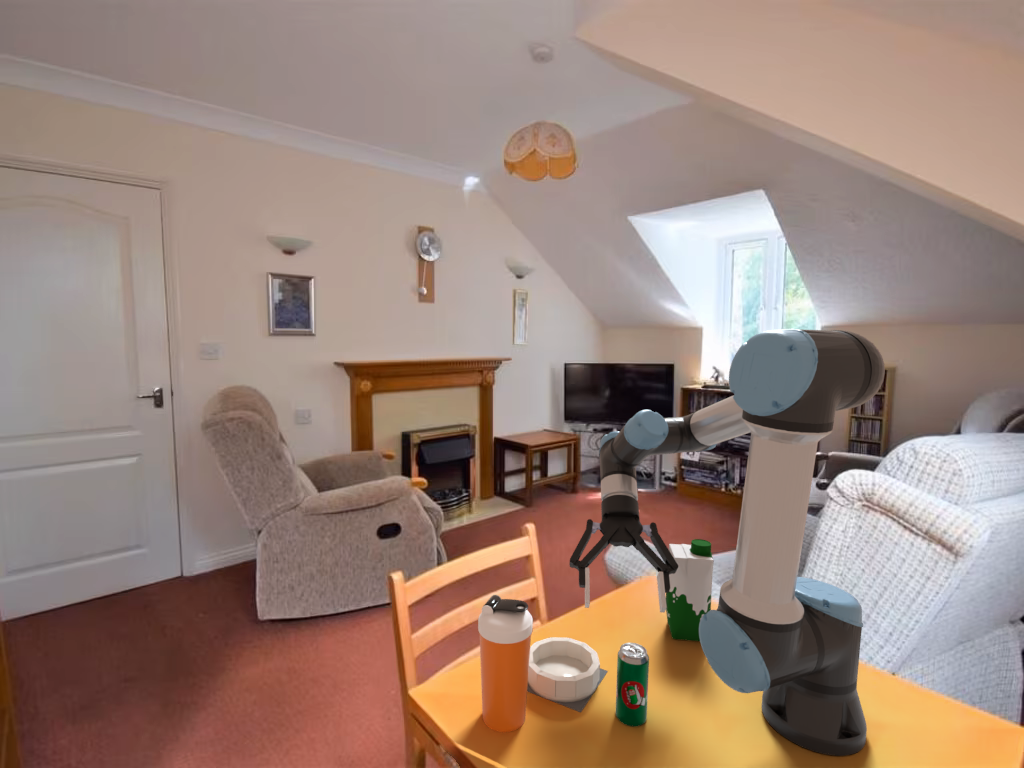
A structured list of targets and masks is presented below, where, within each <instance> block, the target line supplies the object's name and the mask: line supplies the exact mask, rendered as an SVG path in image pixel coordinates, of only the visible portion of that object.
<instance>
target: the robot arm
mask: <svg viewBox="0 0 1024 768" xmlns="http://www.w3.org/2000/svg"><path fill="white" fill-rule="evenodd" d="M885 374H886V370H885V362H884V358H883V355H882V353H881V352H880V350H879V349H878V348H877V346H876V345H875V344H874V343H873V342H871V340H869V339H867V338H866V337H865V336H863V335H860V334H859V333H856V332H853V331H849V330H839V329H838V330H837V329H831V330H828V329H827V330H825V329H824V330H822V329H803V328H801V329H796V328H793V327H792V328H780V329H771V330H765V331H760V332H758V333H756V334H754V335H752V336H751V337H750V338H749V339H748V340H746V341H745V342H743V343H742V345H741V346H740V347H739V348H738V349H737V351H736V352H735V354H734V356H733V358H732V361H731V363H730V367H729V372H728V387H729V390H730V392H731V393H733V394H734V395H731V396H729V397H727V398H724V399H722V400H720V401H717V402H714V403H712V404H710V405H709V406H706V407H705V406H704V407H703V408H701V409H699V410H697V411H694V412H692V413H690V414H688V415H684V416H678V417H676V416H675V417H674V416H673V417H664V416H663V415H661V414H660V413H659V412H657V411H655V412H654V411H652V410H651V409H642V410H639V411H638V412H636V413H635V414H634V415H633V416H632V417H631V418H629V419H628V420H627V422H626V423H625V425H624V426H623V427H622V429H620V431H618V430H617V431H610V432H609V433H608V434H603V436H602V437H601V439H600V441H599V451H598V455H599V456H598V457H599V470H600V472H599V473H600V500H601V504H600V505H601V507H600V508H601V509H600V510H601V521H600V522H595V521H593V520H592V519H591V518H589V519H587V520H586V527H585V530H584V532H583V534H582V535H581V537H580V540H579V541H578V543H577V544H576V547H575V549H574V550H573V553H572V555H571V556H570V558H569V565H568V566H569V567H570V568H571V569H576V570H577V572H578V587H579V588H582V589H584V608H587V609H590V604H591V596H590V595H591V594H590V593H591V591H590V589H591V587H590V585H591V583H590V577H591V576H590V567H589V566H590V565H591V564H593V562H594V561H595V560H596V559H597V557H599V555H600V554H601V553H602V552H603V551H604V550H605V549H606V548H607V547H608V546H609V545H612V546H613V547H625V548H630V547H633V548H634V549H635V550H637V551H639V553H640V554H641V555H642V556H643V557H644V558H645V559H646V560H647V562H648V563H649V564H650V565H651V566H652V567H653V568H654V569H655V570H656V572H658V573H657V576H656V581H657V582H656V583H657V584H656V585H657V593H658V594H657V595H658V602H659V603H658V604H659V613H665V612H666V608H667V606H666V593H668V592H669V590H670V580H669V574H675V573H676V571H677V569H678V564H677V563H676V561H675V559H674V558H673V556H672V554H671V553H670V551H669V547H668V546H667V545H666V543H665V542H664V539H663V538H662V537H661V535H660V534H659V531H658V525H657V524H656V522H654V521H652V522H651V523H650V524H644V525H643V524H642V523H641V520H640V519H641V518H640V508H639V501H638V500H639V495H638V494H639V493H638V483H637V482H638V481H637V467H638V466H639V465H641V464H642V463H643V462H644V461H645V460H646V459H647V458H648V457H650V456H659V455H671V454H679V453H681V454H683V453H693V452H695V453H700V452H701V453H702V452H705V451H710V450H713V449H714V448H716V446H718V444H720V443H723V442H726V441H729V440H733V439H735V438H738V437H741V436H744V435H746V434H750V441H749V447H748V455H747V456H748V457H747V462H746V470H745V471H746V472H745V480H744V486H743V494H742V500H741V501H742V502H741V509H740V518H739V524H738V525H739V526H738V533H737V542H736V548H735V549H736V550H735V556H734V564H733V571H732V578H731V579H729V580H726V581H725V582H723V584H722V585H721V586H720V590H719V597H718V604H717V609H711V610H710V611H709V612H707V613H706V614H704V615H703V616H702V618H701V620H700V623H699V638H700V641H699V642H700V645H701V649H702V651H703V654H704V656H705V658H706V660H707V662H708V664H709V666H710V668H711V669H712V671H713V672H714V674H716V676H717V677H718V679H720V680H721V682H723V684H725V685H726V686H727V687H729V688H730V689H732V690H734V691H736V692H738V693H741V694H751V693H756V692H762V694H761V695H762V696H761V697H762V698H761V711H762V715H763V716H764V718H765V720H766V722H768V724H769V725H770V726H771V727H772V728H773V729H774V730H775V731H776V732H778V734H780V735H781V736H782V737H784V738H785V739H787V740H789V741H790V742H791V743H793V744H795V745H797V746H800V747H802V748H805V749H807V750H810V751H812V752H815V753H818V754H823V755H830V756H839V757H840V756H842V757H843V756H850V755H854V754H856V753H859V752H860V751H861V750H863V748H864V747H865V745H866V741H867V733H868V732H867V731H868V730H867V721H866V718H865V714H864V710H863V707H862V704H861V700H860V696H859V693H858V690H857V689H858V686H857V685H858V675H859V665H860V664H859V663H860V652H861V651H860V650H861V642H862V641H861V640H862V629H863V627H864V623H863V607H862V605H861V603H860V602H859V600H858V599H857V598H856V597H855V596H853V595H852V594H851V593H850V592H848V591H846V590H844V589H843V588H840V587H837V586H836V585H833V584H831V583H828V582H825V581H821V580H817V579H813V578H810V577H809V578H808V577H804V576H803V577H802V576H798V575H799V568H800V563H801V562H800V561H801V558H802V557H801V555H802V550H803V549H802V548H803V542H804V535H805V530H806V522H807V518H808V517H807V516H808V511H809V503H810V495H811V490H812V489H811V488H812V484H813V483H812V482H813V477H814V470H815V463H816V457H817V450H818V444H819V442H820V441H821V440H822V439H824V438H825V437H827V436H829V435H831V434H832V433H833V430H834V422H835V415H836V412H838V411H843V410H848V409H854V408H857V407H859V406H862V405H863V404H866V403H867V402H868V401H870V400H871V399H873V398H874V396H876V395H877V393H878V392H879V390H880V389H881V387H882V385H883V383H884V379H885ZM598 530H599V531H600V533H601V534H602V537H601V538H600V540H598V542H597V543H596V544H595V545H594V546H593V547H592V548H591V549H590V550H589V551H588V553H586V555H585V556H584V557H582V555H583V553H584V551H585V549H586V547H587V545H588V543H589V542H590V540H591V538H592V535H593V534H596V532H597V531H598ZM643 533H645V535H646V536H647V537H649V538H650V540H651V542H652V545H653V546H654V547H655V550H656V552H657V553H658V554H659V555H660V556H658V555H657V554H656V552H655V551H654V550H653V549H652V548H651V547H650V546H649V545H648V544H647V543H646V542H645V540H644V538H643V537H642V536H641V534H643ZM581 557H582V559H581V560H580V558H581Z"/></svg>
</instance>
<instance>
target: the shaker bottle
mask: <svg viewBox="0 0 1024 768" xmlns="http://www.w3.org/2000/svg"><path fill="white" fill-rule="evenodd" d="M528 609H529V605H528V603H527V602H526V601H525V600H519V599H511V598H509V599H508V598H501V596H499V595H498V594H493V595H491V596H490V598H489V599H488V600H487V601H486V602H485V604H484V605H483V606H482V607H481V612H480V613H479V616H478V618H477V619H478V620H477V622H478V625H477V632H478V634H479V651H480V652H479V653H480V659H479V660H480V678H481V679H480V680H481V704H482V705H481V706H482V707H481V708H482V709H481V710H482V720H483V723H484V724H485V726H486V727H488V729H491V730H492V731H494V732H498V733H499V732H500V733H508V732H509V733H510V732H514V731H517V730H518V729H520V728H521V727H522V726H523V725H524V724H525V721H526V716H527V715H526V714H527V713H526V712H527V701H528V700H527V698H528V692H527V686H528V671H529V656H530V647H531V641H532V640H531V638H532V635H533V629H534V628H533V627H534V626H533V624H534V619H533V616H532V614H531V613H530V612H529V610H528Z"/></svg>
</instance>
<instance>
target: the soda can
mask: <svg viewBox="0 0 1024 768" xmlns="http://www.w3.org/2000/svg"><path fill="white" fill-rule="evenodd" d="M616 661H617V662H616V663H617V664H616V689H615V690H616V691H615V693H616V694H615V717H616V718H617V720H618V721H619V722H621V724H623V725H625V726H629V727H641V726H642V725H643V724H645V723H646V721H647V720H648V719H647V718H648V717H647V716H648V697H649V696H648V694H649V693H648V692H649V672H650V669H649V667H650V657H649V654H648V651H647V649H646V647H645V646H643V645H642V644H639V643H636V642H626V643H623V644H621V646H620V647H619V650H618V652H617V660H616Z"/></svg>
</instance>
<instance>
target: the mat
mask: <svg viewBox="0 0 1024 768" xmlns="http://www.w3.org/2000/svg"><path fill="white" fill-rule="evenodd" d="M608 671H609V670H606V669H603V668H601V667H600V678H599V681H598V685H597V688H598V687H599V686H600V684H601V683H602V682H603V679H604V678H605V677H606V675H607V673H608ZM597 688H596V690H597ZM596 690H595V691H594V693H595V692H596ZM527 693H530V694H533V695H536V696H537V697H541V698H543V699H546V698H544V697H542V696H540V695H538V694H537V693H535V692H534V691H533V690H532V689H531V688H530V686H529V684H528V686H527ZM594 693H593V694H591V695H590V696H589V697H587V698H585V699H583V700H580V701H575V702H557V701H552V700H549V699H546V700H548V701H551V702H554V703H556V704H557V705H561V706H563V707H565V708H569V709H571V710H573V711H576V712H578V713H582V712H583V710H584V709H585V707H586V705H587V704H588V702H589V701H590V699H591V698H592V696H593V695H594Z"/></svg>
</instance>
